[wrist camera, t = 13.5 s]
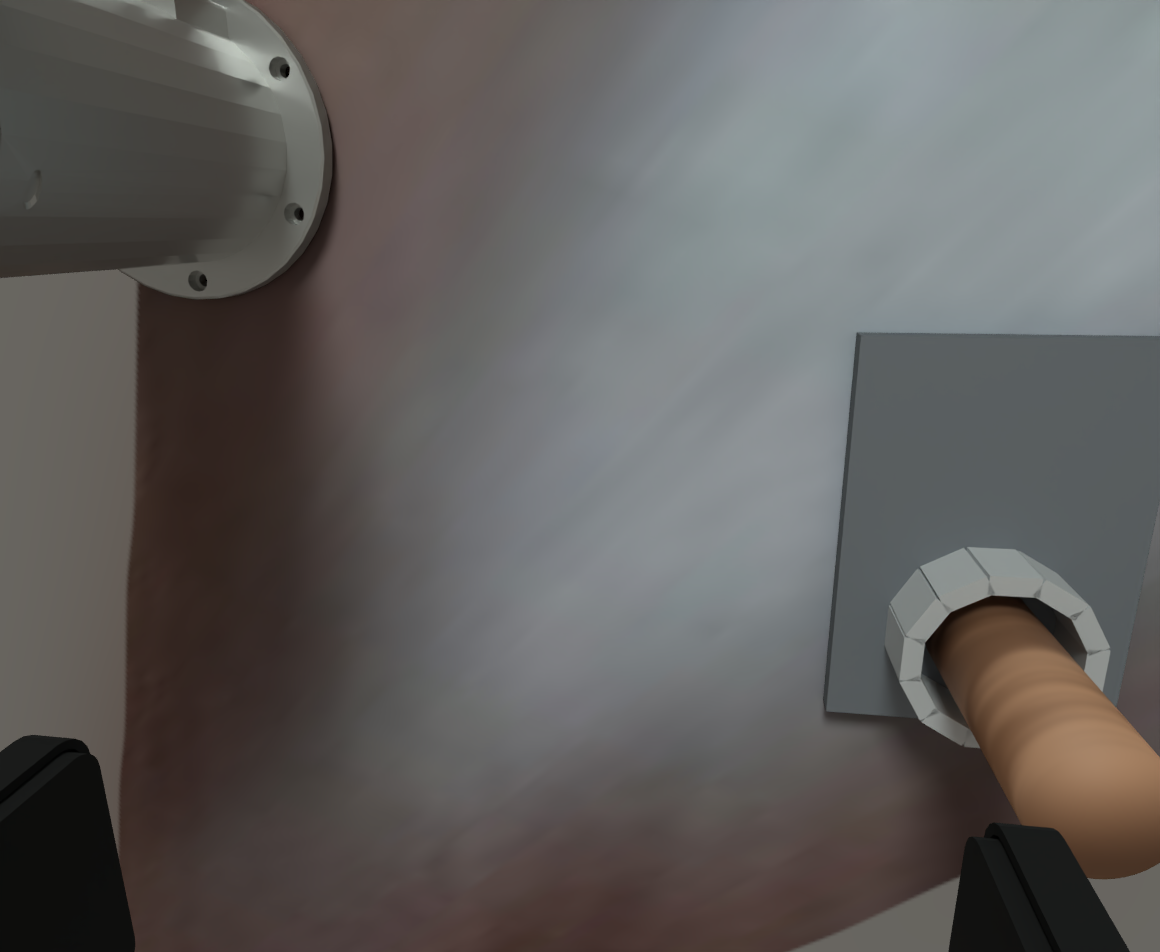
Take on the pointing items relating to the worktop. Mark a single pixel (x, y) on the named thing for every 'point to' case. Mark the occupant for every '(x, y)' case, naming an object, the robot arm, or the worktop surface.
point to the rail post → (1052, 736)
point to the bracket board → (990, 505)
